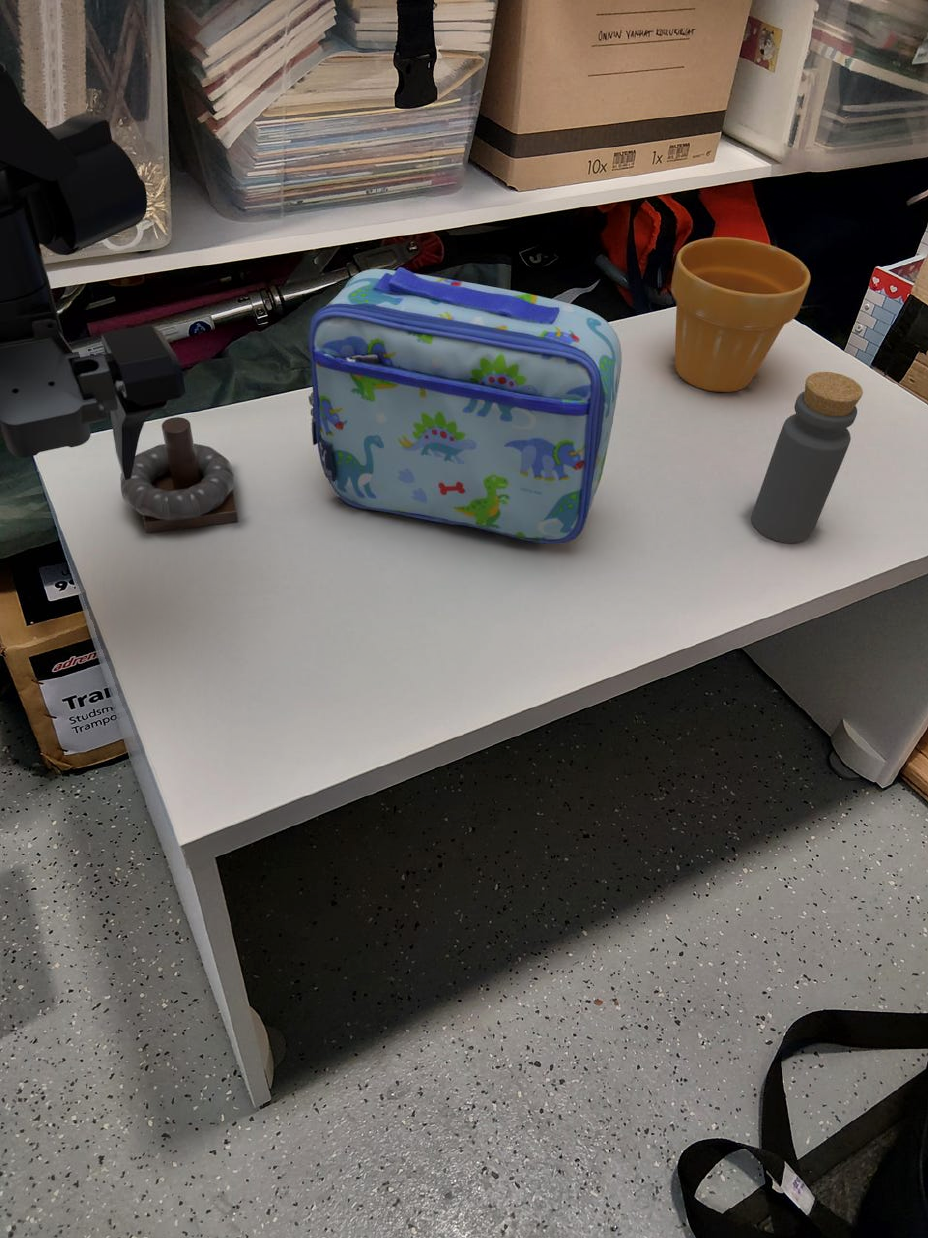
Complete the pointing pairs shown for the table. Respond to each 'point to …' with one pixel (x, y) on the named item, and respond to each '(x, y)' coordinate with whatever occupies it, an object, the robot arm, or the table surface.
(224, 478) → the ring
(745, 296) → the flower pot
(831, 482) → the bottle
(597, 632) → the table surface
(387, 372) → the lunch box
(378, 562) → the table surface
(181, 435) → the peg stand
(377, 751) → the table surface
